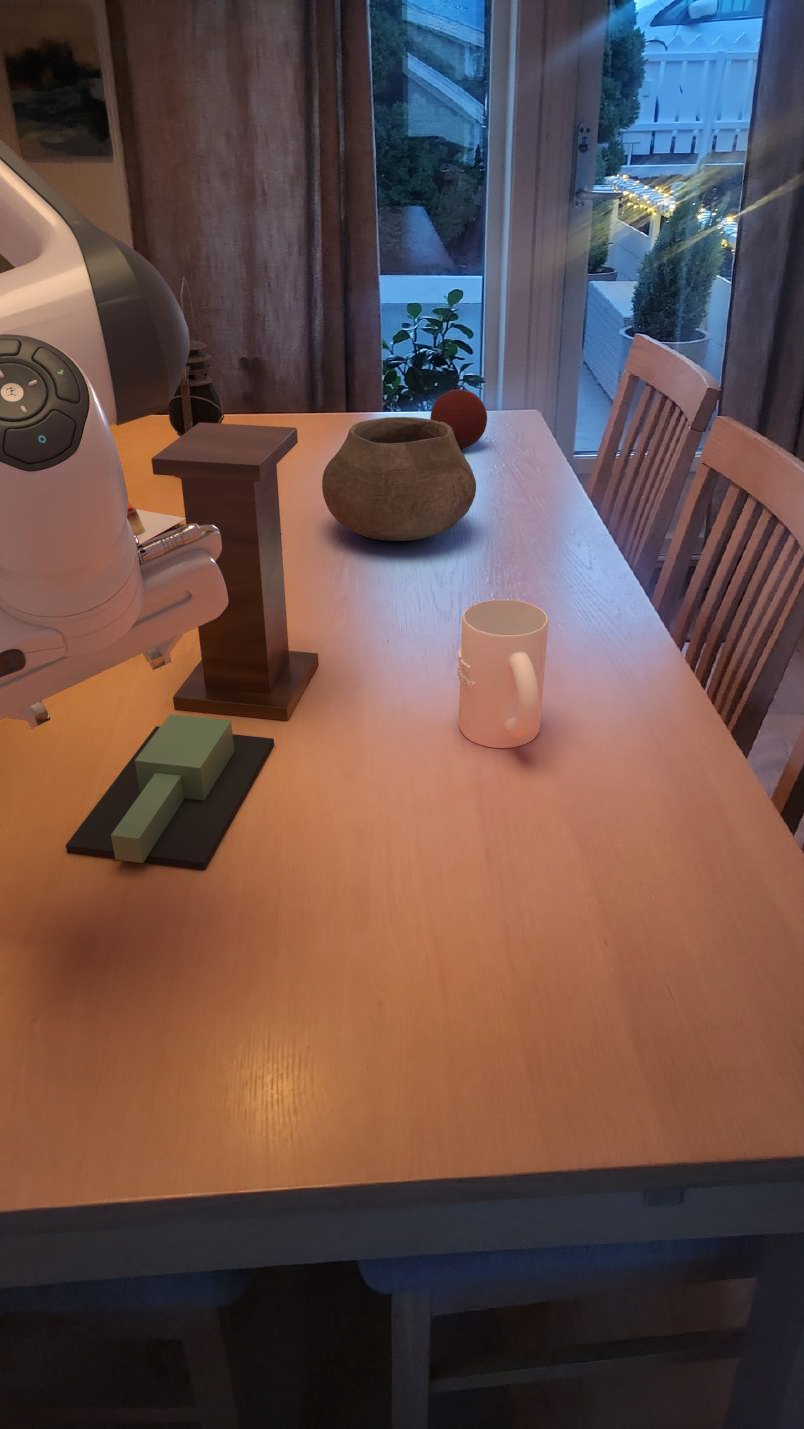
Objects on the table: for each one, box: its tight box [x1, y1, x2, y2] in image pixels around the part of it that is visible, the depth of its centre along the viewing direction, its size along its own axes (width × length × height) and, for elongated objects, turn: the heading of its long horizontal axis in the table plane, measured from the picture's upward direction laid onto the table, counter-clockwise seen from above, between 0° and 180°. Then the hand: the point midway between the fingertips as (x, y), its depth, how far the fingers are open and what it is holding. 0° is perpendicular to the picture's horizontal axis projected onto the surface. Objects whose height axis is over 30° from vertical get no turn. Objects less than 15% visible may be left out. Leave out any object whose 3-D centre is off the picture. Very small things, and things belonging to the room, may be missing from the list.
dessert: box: [127, 502, 186, 544], centre depth 146 cm, size 12×12×5 cm
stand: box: [150, 423, 320, 722], centre depth 102 cm, size 12×12×26 cm
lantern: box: [166, 276, 225, 479], centre depth 164 cm, size 12×11×30 cm
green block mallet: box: [111, 713, 234, 864], centre depth 89 cm, size 17×6×4 cm, turn 169°
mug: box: [457, 599, 549, 749], centre depth 97 cm, size 8×12×12 cm
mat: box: [65, 725, 275, 871], centre depth 91 cm, size 19×12×1 cm, turn 169°
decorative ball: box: [429, 388, 488, 449], centre depth 180 cm, size 10×10×10 cm
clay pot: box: [321, 416, 477, 542], centre depth 143 cm, size 22×21×15 cm
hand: (98, 687), depth 74 cm, fingers open, 8 cm apart
